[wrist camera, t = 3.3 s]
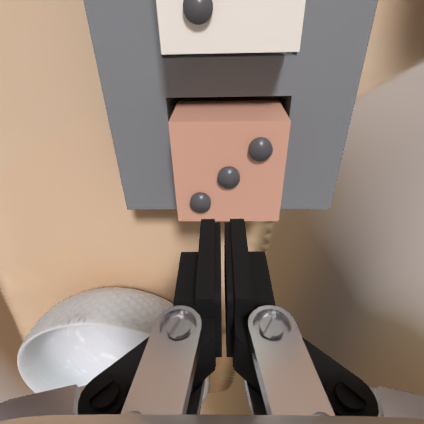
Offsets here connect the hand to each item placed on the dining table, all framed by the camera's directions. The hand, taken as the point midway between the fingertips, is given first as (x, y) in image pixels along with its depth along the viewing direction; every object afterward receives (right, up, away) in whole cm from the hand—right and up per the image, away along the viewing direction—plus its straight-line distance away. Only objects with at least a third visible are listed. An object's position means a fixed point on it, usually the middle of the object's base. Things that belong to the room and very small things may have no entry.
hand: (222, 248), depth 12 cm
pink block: (+1, +6, +8) cm, 10 cm away
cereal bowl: (-9, -10, +21) cm, 25 cm away
